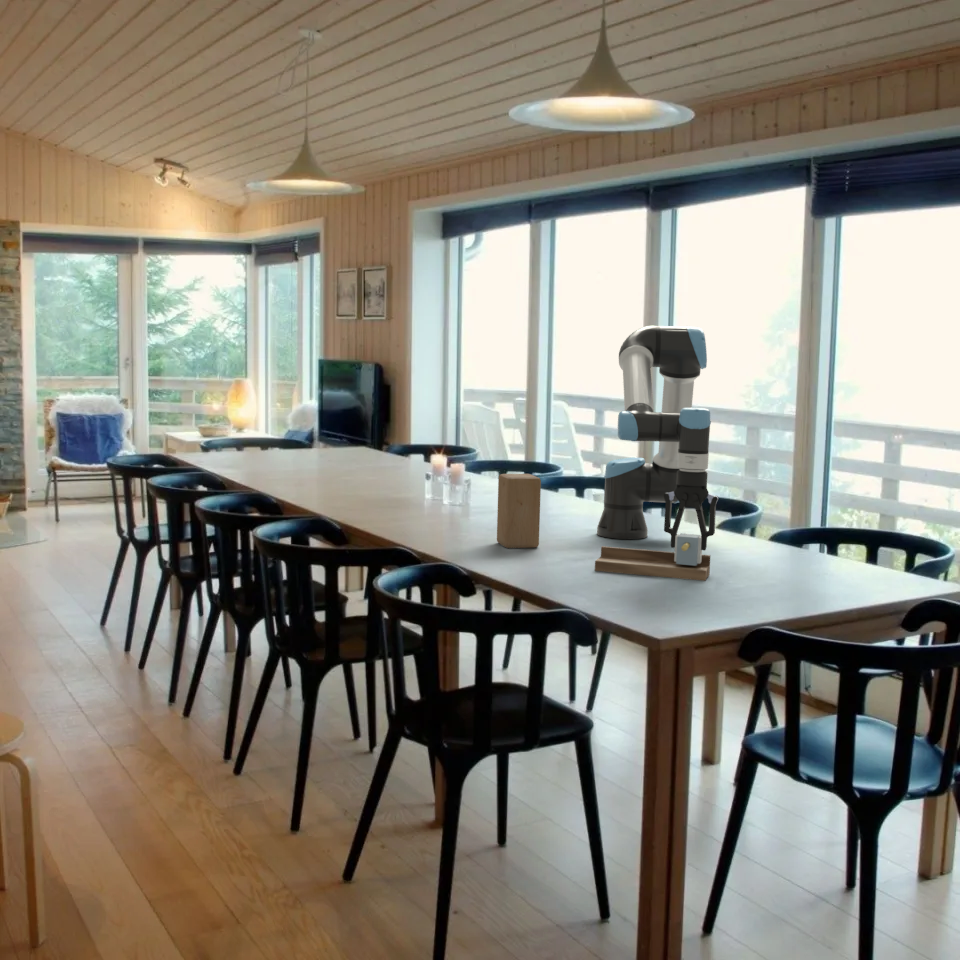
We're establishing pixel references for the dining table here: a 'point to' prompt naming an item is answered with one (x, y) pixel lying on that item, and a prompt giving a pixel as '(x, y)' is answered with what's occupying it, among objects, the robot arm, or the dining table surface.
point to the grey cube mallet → (687, 549)
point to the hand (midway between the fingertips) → (687, 561)
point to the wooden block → (518, 510)
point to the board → (649, 563)
